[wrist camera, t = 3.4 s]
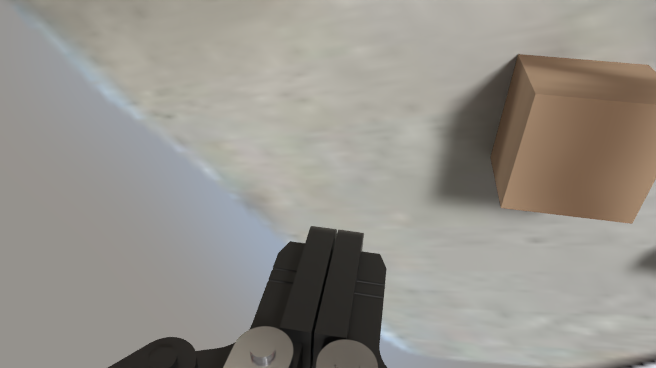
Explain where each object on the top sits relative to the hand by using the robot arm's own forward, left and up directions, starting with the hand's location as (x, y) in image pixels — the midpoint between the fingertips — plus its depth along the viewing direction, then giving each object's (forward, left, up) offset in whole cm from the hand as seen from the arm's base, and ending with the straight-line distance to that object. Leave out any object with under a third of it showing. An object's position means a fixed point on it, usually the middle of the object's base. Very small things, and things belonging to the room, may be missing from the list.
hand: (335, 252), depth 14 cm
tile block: (+7, +5, -10) cm, 13 cm away
